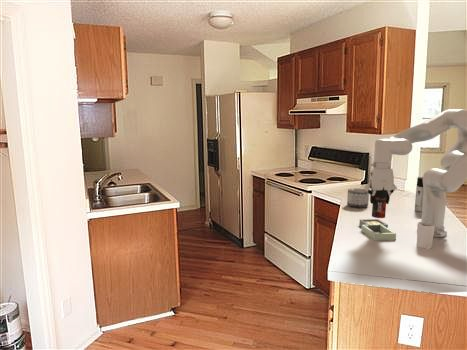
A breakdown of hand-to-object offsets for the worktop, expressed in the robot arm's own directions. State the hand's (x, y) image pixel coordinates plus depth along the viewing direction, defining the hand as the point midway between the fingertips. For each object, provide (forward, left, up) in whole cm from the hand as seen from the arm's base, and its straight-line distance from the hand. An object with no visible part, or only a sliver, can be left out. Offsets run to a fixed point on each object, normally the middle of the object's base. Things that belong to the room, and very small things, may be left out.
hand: (379, 203), depth 165 cm
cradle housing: (+11, -3, -16) cm, 19 cm away
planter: (+55, -14, -16) cm, 59 cm away
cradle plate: (+11, -3, -15) cm, 19 cm away
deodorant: (0, 0, -7) cm, 7 cm away
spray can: (+40, -47, -16) cm, 64 cm away
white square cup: (-16, -13, -16) cm, 26 cm away
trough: (0, 0, -16) cm, 16 cm away
